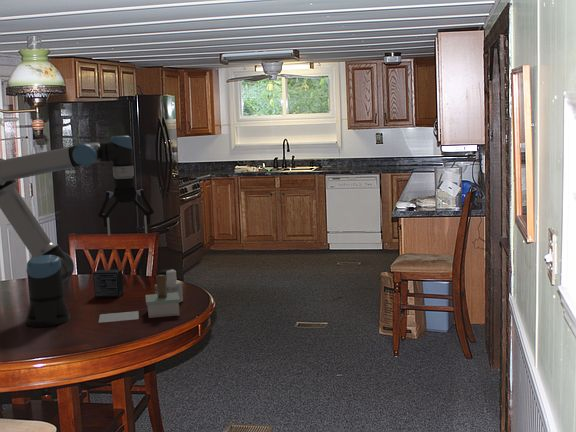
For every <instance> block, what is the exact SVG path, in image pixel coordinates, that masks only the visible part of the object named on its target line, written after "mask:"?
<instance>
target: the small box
mask: <svg viewBox="0 0 576 432" xmlns="http://www.w3.org/2000/svg"><path fill="white" fill-rule="evenodd" d="M92 275H93V276H92V277H93V292H94V298H95V299H96V298H98V299H100V298H101V299H102V298H105V299H106V298H120V297H121V296H122V295H124V293H125V292H124V282H123V280H124V279H123V269H102V270H101V269H100V270H99V269H98V270H96V271H94V272H92Z"/></svg>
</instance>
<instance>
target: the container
mask: <svg viewBox="0 0 576 432" xmlns="http://www.w3.org/2000/svg"><path fill="white" fill-rule="evenodd" d="M158 275H166V288H167V293H174V292H178V294H179V298H180V303H182V302H183V301H184V297H183V295H184V293H183V283H182V282H181V281H178V279H177V271H176V270H175V269H172V268H166V269H161V270H160V271H159V272H158ZM154 294H157V283H156V284H154Z"/></svg>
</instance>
